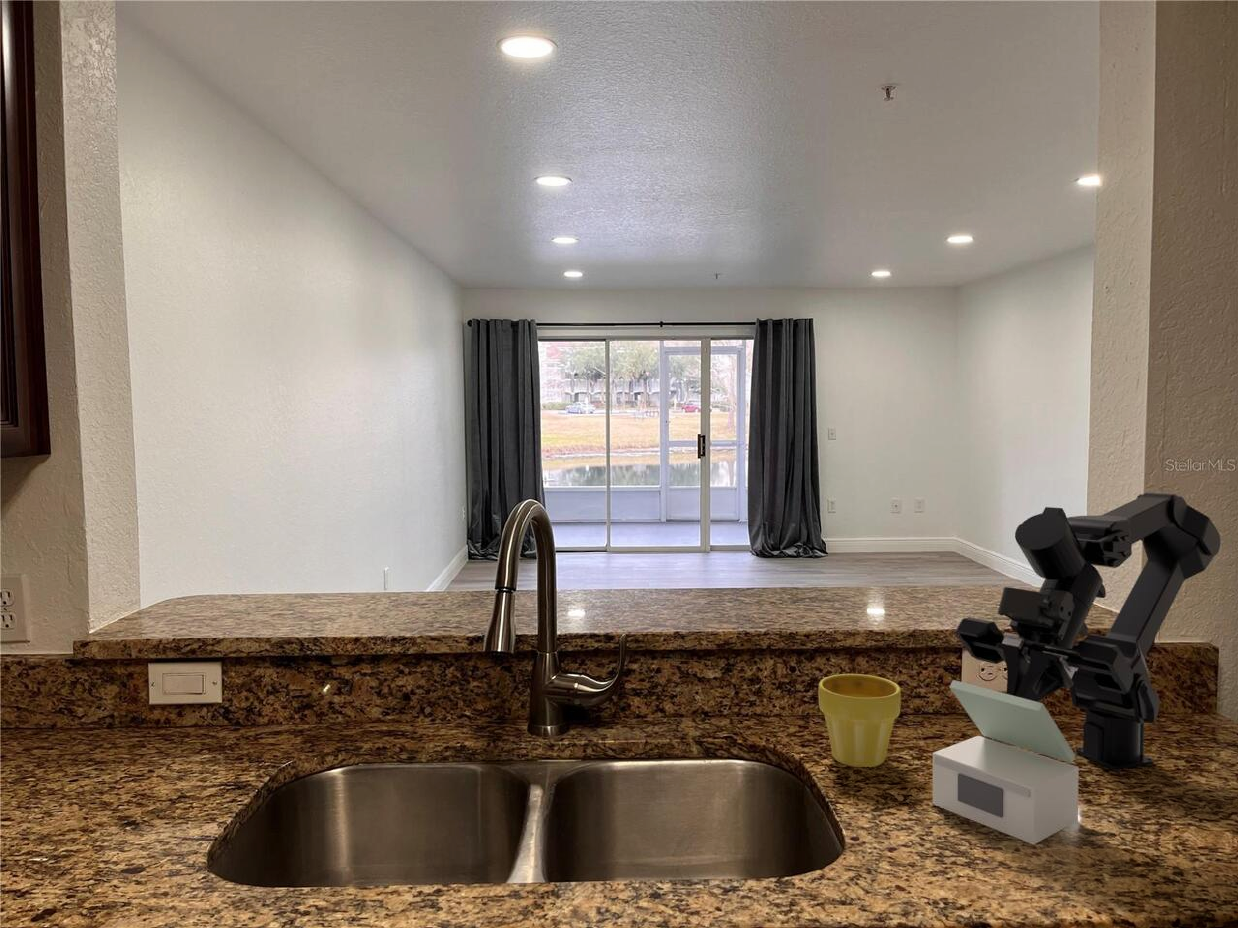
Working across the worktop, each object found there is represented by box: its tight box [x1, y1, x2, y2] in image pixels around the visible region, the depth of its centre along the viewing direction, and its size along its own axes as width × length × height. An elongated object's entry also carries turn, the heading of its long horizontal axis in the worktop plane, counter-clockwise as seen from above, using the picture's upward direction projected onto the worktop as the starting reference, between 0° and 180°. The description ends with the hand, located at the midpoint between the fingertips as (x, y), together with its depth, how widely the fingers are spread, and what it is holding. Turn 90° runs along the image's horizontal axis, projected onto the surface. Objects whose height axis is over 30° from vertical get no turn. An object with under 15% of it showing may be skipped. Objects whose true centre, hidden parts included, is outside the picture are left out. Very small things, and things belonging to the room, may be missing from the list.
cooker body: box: [932, 735, 1079, 846], centre depth 97 cm, size 9×12×6 cm
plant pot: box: [818, 673, 902, 768], centre depth 113 cm, size 10×10×10 cm
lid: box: [949, 679, 1076, 764], centre depth 98 cm, size 10×11×2 cm
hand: (1010, 713), depth 98 cm, fingers closed, pressing on lid
